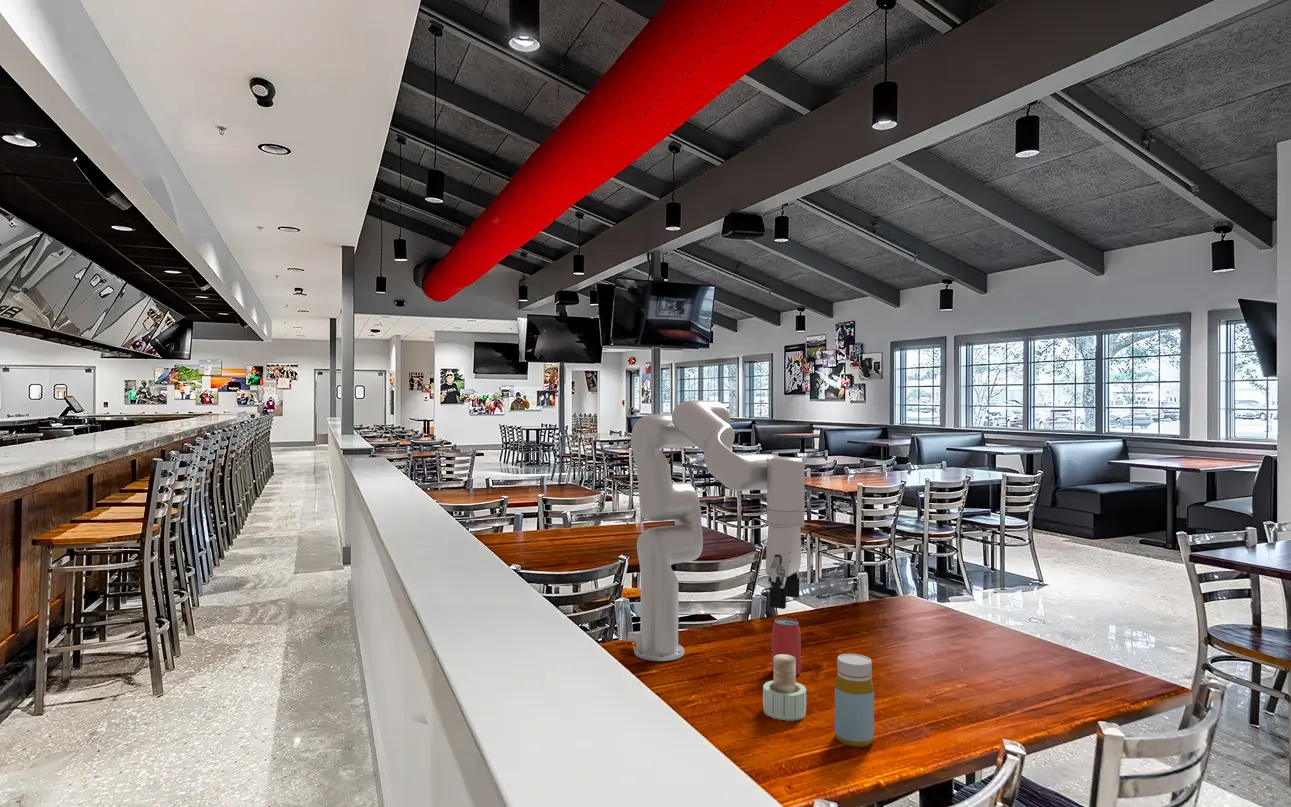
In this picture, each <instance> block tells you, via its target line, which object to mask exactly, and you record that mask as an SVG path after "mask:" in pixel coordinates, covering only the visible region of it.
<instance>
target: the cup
mask: <svg viewBox="0 0 1291 807" xmlns="http://www.w3.org/2000/svg"><path fill="white" fill-rule="evenodd" d="M762 706H763V714H764V715H766V716H767V717H768V716H769V718H770V717H771V719H773V720H776V719H778V720H777V721H781V720H785V721H784V722H793V721H794V722H795V720H796V721H799V720H802V719H804V718H805V717H806V716H807V715H806V714H807V712H806V711H807V688H806V686H805V685H804V684H802V683H799V682H797V681H796V683H795V693H780V692H776V691H774V690H773V680H770V681H769V680H768V681H766V682H765V683H764V684H763V685H762Z"/></svg>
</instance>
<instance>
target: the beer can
mask: <svg viewBox="0 0 1291 807" xmlns="http://www.w3.org/2000/svg"><path fill="white" fill-rule="evenodd" d="M801 636H802V634H801V628H800V625H799V621H798V620H797V619H793V618H787V617H781V618H776V619H774V623H773V626H772V629H771V671H772V672H773V673H774V656H775V655H779V654H785V655H791V656H793V657H795V658H796V677H797V676H798V675H800V673H801V655H802V654H801V647H802V645H801V644H802V643H801V642H802V641H801V639H802V637H801Z"/></svg>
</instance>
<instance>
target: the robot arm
mask: <svg viewBox="0 0 1291 807" xmlns="http://www.w3.org/2000/svg"><path fill="white" fill-rule="evenodd" d="M630 434H631V435H630V443H631V445H630V446H631V451H632V454H633V457H634V461H635V465H636V472H637V483H638V484H637V485H638V487H637V488H638V500H639V509H640V512H641V515H642V517H643V518H644V519H645V520H646V521H648V522H654V523H655V522H666V521H668V522H669V521H674V524H675V525H663V526H655V527H650V528H647V529H646V530H644V531H643V532H641V533H640V534H639V536H638V538H637V541H636V550H637V556H638V557H637V558H638V562H639V571H640V572H639V573H640V574H639V575H640V619H639V620H640V626H639V628H640V629H639V630H640V631H639V632H635V631H628V632H627V642H630V643H634V644H636V646H634V649H633V653H634V655H635V656H636V657H637V658H640V659H642V660H644V661H645V660H646V661H652V662H668V661H675V660H678V659H681V658H682V657H683V656H684V655H685V648H684V647H683V646H682V645H681V644H679V592H680V591H679V581H678V578H677V575H676V573H675V571H674V570H673V569H672V565H675V564H682V563H683V564H684V563H689V562H692V561H695V560H697V559H698V558H699V557H700V556H701V554H702V552H703V548H704V547H703V546H704V535H703V527H702V526H703V525H702V514H701V504H700V498H699V495H698V493H697V491H696V489H695V488H694V486H693V485H691V484H689V483H687V482H682V481H681V482H677V481H676V482H673V481H672V475H671V474H672V473H671V466H670V462H669V461H668V458H667V457H666V456H665V454H664V453H663V452H662V451H661V449H678V448H679V449H680V448H681V449H682V448H685V449H687V448H692V447H697V448H698V449H699V450H701V451H702V452H703V458H704V463H705V466H706V469H707V470H708V472H709V473H710V475H711V476H713V477H714V479H716V480H717V481H718V482H720V483H721V484H723V485H724V486H725V488H728V489H730V490H732V491H736V492H737V491H738V492H746V491H756V490H757V491H760V490H761V491H762V490H766V525H767V526H768V530H767V537H766V538H767V539H766V550H765V551H766V552H765V553H766V554H765V573H766V574H765V575H767V576H769V578H768V580H769V583H768V584H769V585H768V586H769V608H774V609H781V610H785V609H786V608H787V597H789V598H790V597H791V598H796V599H797V598H799V597H800V576H801V575H800V568H801V564H802V563H801V562H802V543H801V542H802V539H801V538H802V537H801V533H802V532H801V528H803V527H804V526H805V480H806V479H805V473H806V472H805V471H806V470H805V462H804V461H803V459H801V458H800V457H793V456H792V457H791V456H779V455H776V454H771V453H753V454H751V453H749V454H737V453H735V452H733V451H732V450H731V448H732V447H733V444H734V443H735V436H736V435H735V434H736V433H735V431H734V428H733V427H732V426H731V416H730V412H729V410H728V408H727V407H726V406H725V405H724V404H723V403H721V402H720V401H718V400H701V399H699V400H694V399H693V400H691V399H690V400H685V401H682V402H680V403H679V404H677V405H676V406H675V407H674V408H673V410H672V413H671V414H669V413H668V414H667V413H666V414H665V413H659V414H649V415H645V416H642V417H641V418H639V419H638V420H637V421H636V422H635V423H634V425H633V428H632V431H631V433H630Z"/></svg>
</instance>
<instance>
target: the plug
mask: <svg viewBox="0 0 1291 807" xmlns="http://www.w3.org/2000/svg"><path fill="white" fill-rule="evenodd" d="M772 675H773V690H774V691H776V692H780V693H795V683H796V682H797V681H796V679H797V678H796V677H797V676H796V658H795V657H793V656H791V655H785V654H779V655H775V656H774V672H773V674H772Z"/></svg>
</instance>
